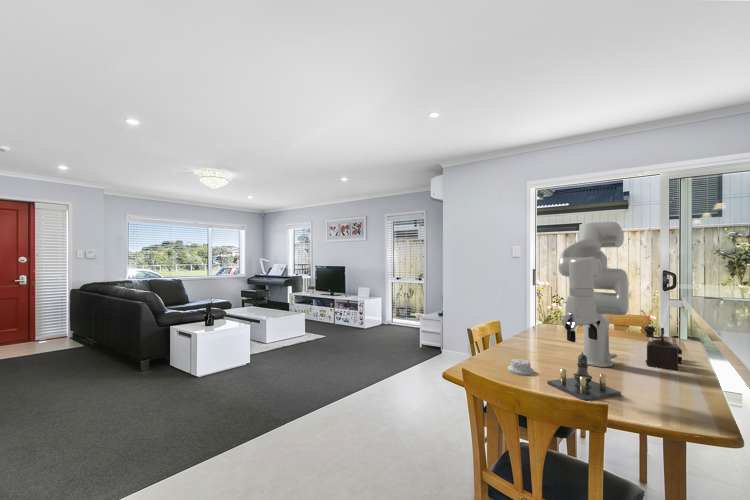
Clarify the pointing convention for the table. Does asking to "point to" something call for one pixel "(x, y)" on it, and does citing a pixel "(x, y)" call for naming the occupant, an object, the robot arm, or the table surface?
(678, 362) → the end cap
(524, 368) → the mechanical component
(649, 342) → the dark boxy piece
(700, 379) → the table surface
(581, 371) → the grey chess piece
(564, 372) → the standoff chassis
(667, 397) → the table surface
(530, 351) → the table surface
